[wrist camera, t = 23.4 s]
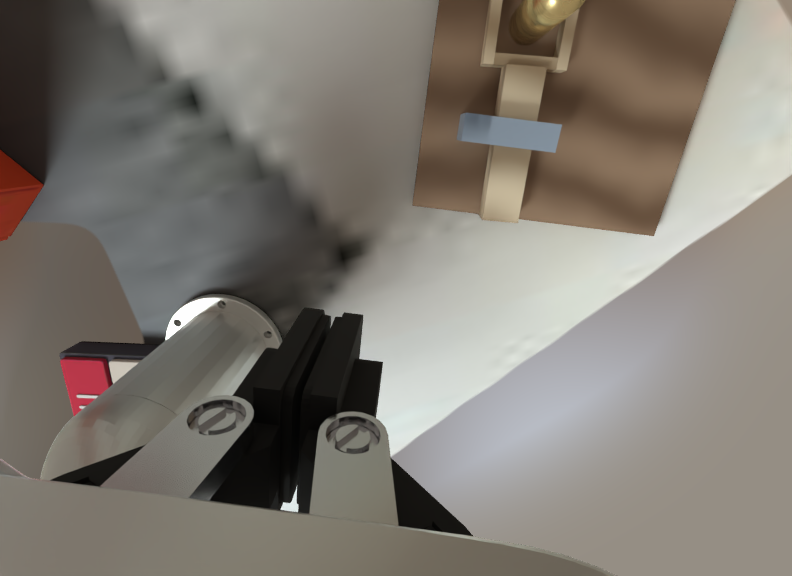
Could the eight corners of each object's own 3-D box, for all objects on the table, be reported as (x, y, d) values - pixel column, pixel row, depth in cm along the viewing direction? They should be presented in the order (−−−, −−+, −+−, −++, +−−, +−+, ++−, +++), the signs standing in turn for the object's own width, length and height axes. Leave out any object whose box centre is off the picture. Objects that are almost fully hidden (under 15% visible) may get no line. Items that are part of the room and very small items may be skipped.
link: (493, -31, 31) (498, -42, 29) (579, -24, 31) (591, -35, 29) (460, 213, 37) (462, 218, 35) (531, 219, 37) (537, 224, 35)
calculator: (154, 359, 43) (175, 478, 47) (177, 342, 47) (194, 452, 51) (51, 355, 43) (81, 473, 48) (83, 338, 47) (108, 448, 52)
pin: (505, 43, 33) (535, 12, 24) (512, 1, 32) (546, -46, 23) (540, 47, 33) (583, 18, 24) (549, 6, 32) (596, -40, 23)
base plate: (645, 232, 39) (653, 236, 38) (412, 202, 39) (412, 205, 38) (726, -7, 32) (740, -13, 31) (444, -42, 32) (445, -50, 31)
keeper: (540, 150, 35) (555, 152, 32) (456, 139, 36) (461, 140, 32) (545, 125, 35) (562, 124, 31) (460, 114, 35) (465, 112, 31)
